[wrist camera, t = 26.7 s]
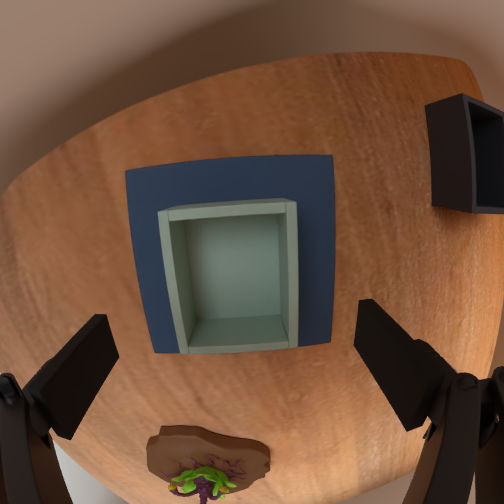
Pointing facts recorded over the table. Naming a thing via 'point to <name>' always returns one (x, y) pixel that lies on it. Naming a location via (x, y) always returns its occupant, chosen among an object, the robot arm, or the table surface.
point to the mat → (234, 189)
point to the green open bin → (232, 274)
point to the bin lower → (466, 155)
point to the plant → (205, 461)
